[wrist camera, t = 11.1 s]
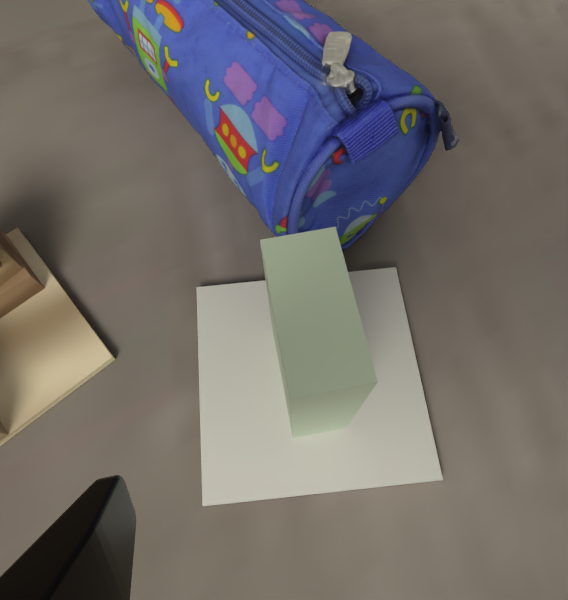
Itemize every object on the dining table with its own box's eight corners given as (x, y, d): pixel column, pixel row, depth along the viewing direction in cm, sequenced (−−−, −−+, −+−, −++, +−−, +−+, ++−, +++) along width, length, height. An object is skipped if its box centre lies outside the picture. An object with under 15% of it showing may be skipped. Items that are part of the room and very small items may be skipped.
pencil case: (430, 215, 25) (501, 61, 16) (302, 301, 23) (306, 181, 15) (212, 2, 33) (182, -182, 24) (103, 55, 31) (26, -123, 22)
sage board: (346, 427, 20) (377, 381, 13) (292, 438, 20) (290, 398, 12) (322, 322, 22) (335, 226, 15) (272, 331, 22) (259, 239, 14)
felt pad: (440, 480, 20) (442, 479, 19) (204, 506, 19) (202, 506, 19) (394, 270, 24) (395, 267, 23) (198, 290, 23) (196, 287, 23)
